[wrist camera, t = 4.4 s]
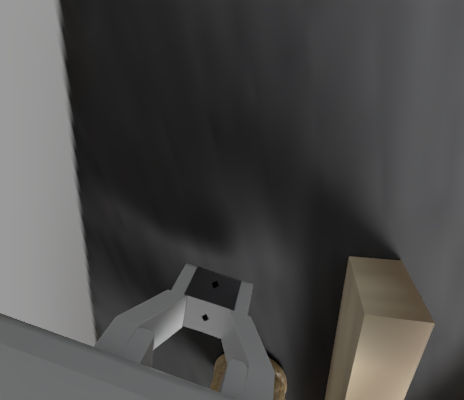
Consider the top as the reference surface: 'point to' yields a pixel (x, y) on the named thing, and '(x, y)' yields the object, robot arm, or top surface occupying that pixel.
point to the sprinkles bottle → (279, 381)
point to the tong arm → (377, 332)
